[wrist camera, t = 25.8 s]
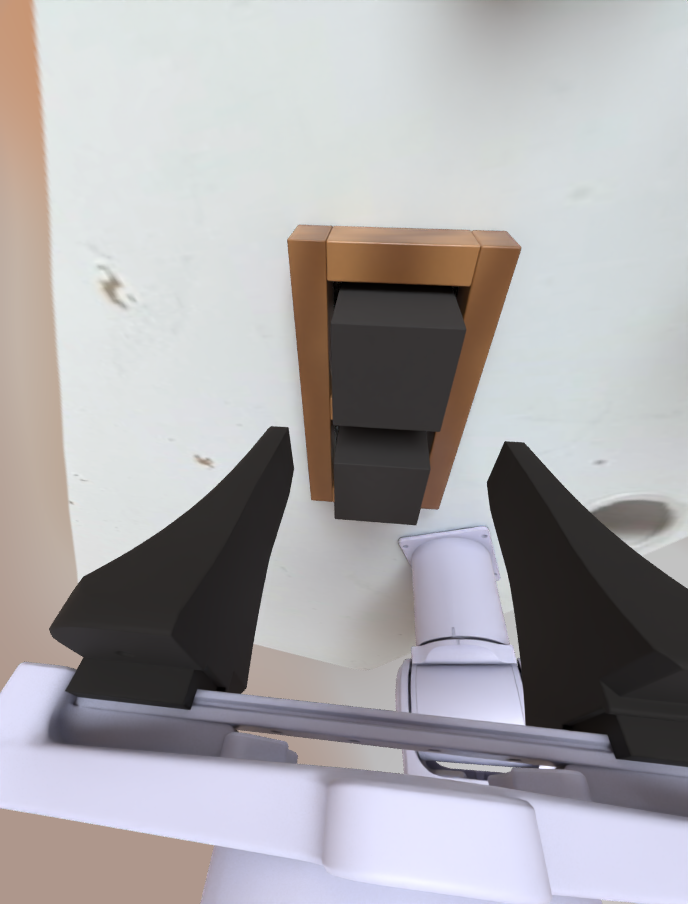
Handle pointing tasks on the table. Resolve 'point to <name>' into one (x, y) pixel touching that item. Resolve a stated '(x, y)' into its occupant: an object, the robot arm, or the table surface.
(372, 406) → the black block
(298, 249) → the wooden frame
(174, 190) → the table surface
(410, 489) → the dark grey block
